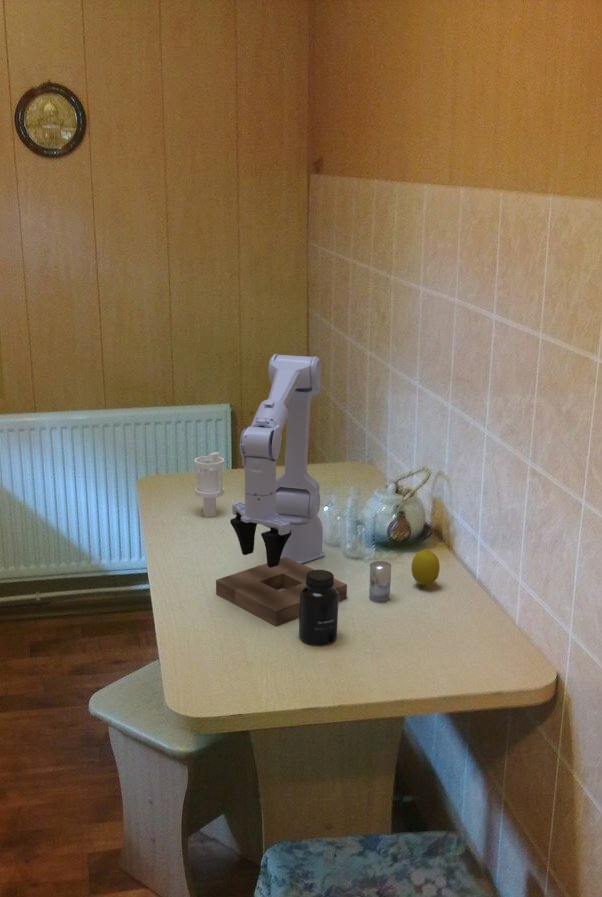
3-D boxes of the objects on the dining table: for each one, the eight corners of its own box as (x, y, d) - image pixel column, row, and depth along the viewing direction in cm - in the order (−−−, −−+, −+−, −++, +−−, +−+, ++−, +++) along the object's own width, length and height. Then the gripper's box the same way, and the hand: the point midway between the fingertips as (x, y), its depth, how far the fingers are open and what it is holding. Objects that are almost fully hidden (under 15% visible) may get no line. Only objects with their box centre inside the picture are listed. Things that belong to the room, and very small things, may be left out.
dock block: (285, 570, 193) (285, 556, 192) (346, 598, 180) (347, 584, 179) (216, 594, 181) (215, 579, 181) (276, 626, 169) (276, 611, 168)
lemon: (441, 583, 188) (443, 546, 185) (433, 594, 183) (435, 556, 181) (415, 578, 190) (417, 542, 188) (406, 588, 185) (408, 551, 183)
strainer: (230, 513, 226) (229, 454, 222) (212, 521, 220) (211, 461, 216) (207, 507, 229) (206, 449, 225) (189, 516, 224) (188, 456, 219)
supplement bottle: (324, 650, 160) (326, 586, 157) (291, 639, 164) (292, 576, 161) (344, 634, 166) (346, 572, 163) (311, 624, 169) (312, 563, 166)
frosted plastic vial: (379, 592, 183) (380, 559, 181) (394, 598, 181) (395, 565, 179) (364, 597, 181) (366, 564, 179) (379, 604, 178) (381, 570, 176)
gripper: (219, 485, 173) (219, 553, 177) (268, 505, 163) (268, 577, 166) (248, 478, 178) (249, 544, 181) (299, 497, 167) (298, 567, 171)
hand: (260, 559), depth 174 cm, fingers open, 7 cm apart
